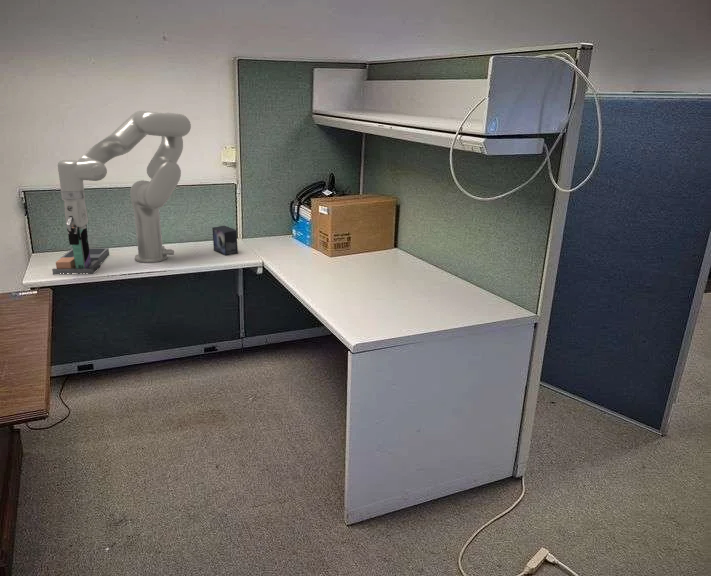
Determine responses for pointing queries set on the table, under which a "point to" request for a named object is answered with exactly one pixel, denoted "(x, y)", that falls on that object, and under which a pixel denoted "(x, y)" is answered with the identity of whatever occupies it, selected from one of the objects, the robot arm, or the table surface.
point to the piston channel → (79, 269)
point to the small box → (225, 240)
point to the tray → (92, 254)
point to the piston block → (65, 263)
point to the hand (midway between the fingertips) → (78, 241)
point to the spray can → (82, 249)
